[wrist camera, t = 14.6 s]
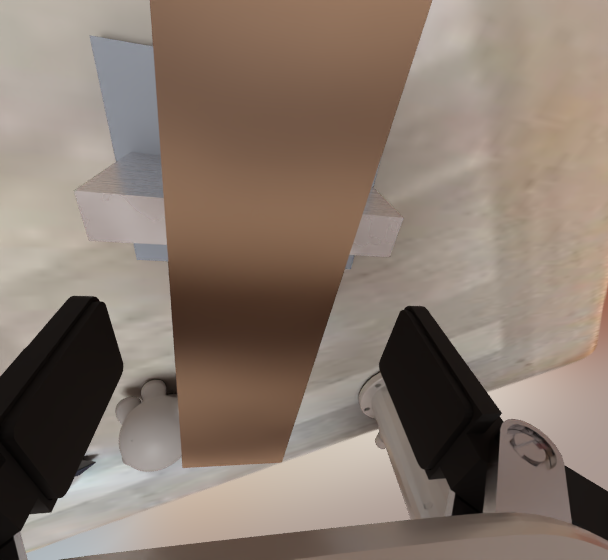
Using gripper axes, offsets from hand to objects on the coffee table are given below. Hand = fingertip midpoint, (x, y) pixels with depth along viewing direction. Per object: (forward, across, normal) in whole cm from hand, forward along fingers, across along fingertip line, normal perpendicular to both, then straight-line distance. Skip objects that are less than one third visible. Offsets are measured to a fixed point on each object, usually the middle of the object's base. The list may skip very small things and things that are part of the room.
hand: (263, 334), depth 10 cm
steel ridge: (+15, 0, -1) cm, 15 cm away
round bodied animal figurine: (+17, +8, +25) cm, 31 cm away
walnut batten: (+7, 0, 0) cm, 7 cm away
